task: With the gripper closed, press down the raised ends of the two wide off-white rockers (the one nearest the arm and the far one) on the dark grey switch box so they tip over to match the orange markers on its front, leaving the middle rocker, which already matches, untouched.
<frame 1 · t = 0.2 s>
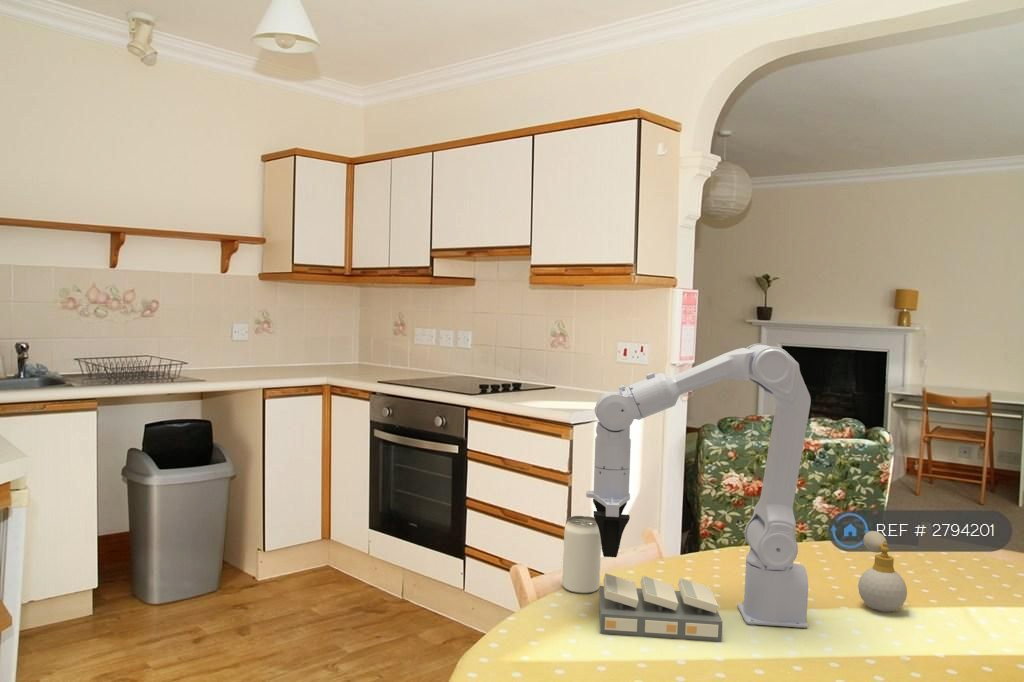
hand: (609, 549, 132), 10 cm above the table, tool pointing down, fingers open, 7 cm apart
rocker near: (697, 594, 127), point 5 cm above the table, hinge at -14.0°
rocker far: (620, 589, 128), point 5 cm above the table, hinge at -14.0°
can: (580, 588, 142), on the table
perfume bottle: (876, 607, 138), on the table
rocker mid: (658, 592, 128), point 5 cm above the table, hinge at -14.0°
switch box: (656, 621, 128), on the table
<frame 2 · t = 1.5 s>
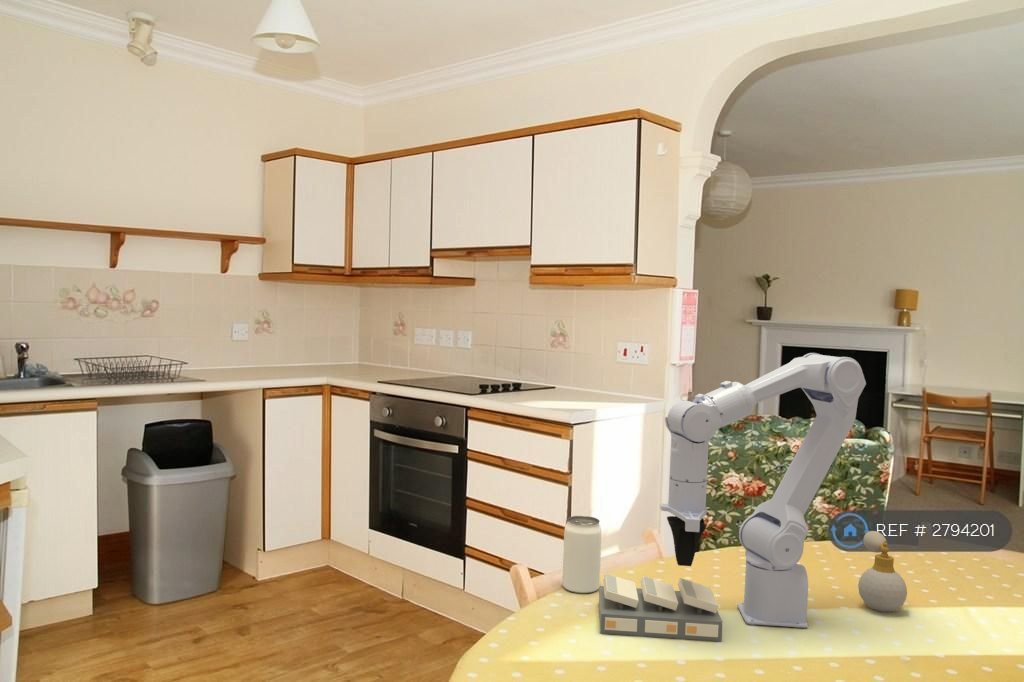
hand: (684, 564, 127), 9 cm above the table, tool pointing down, fingers closed
nothing on the table moved.
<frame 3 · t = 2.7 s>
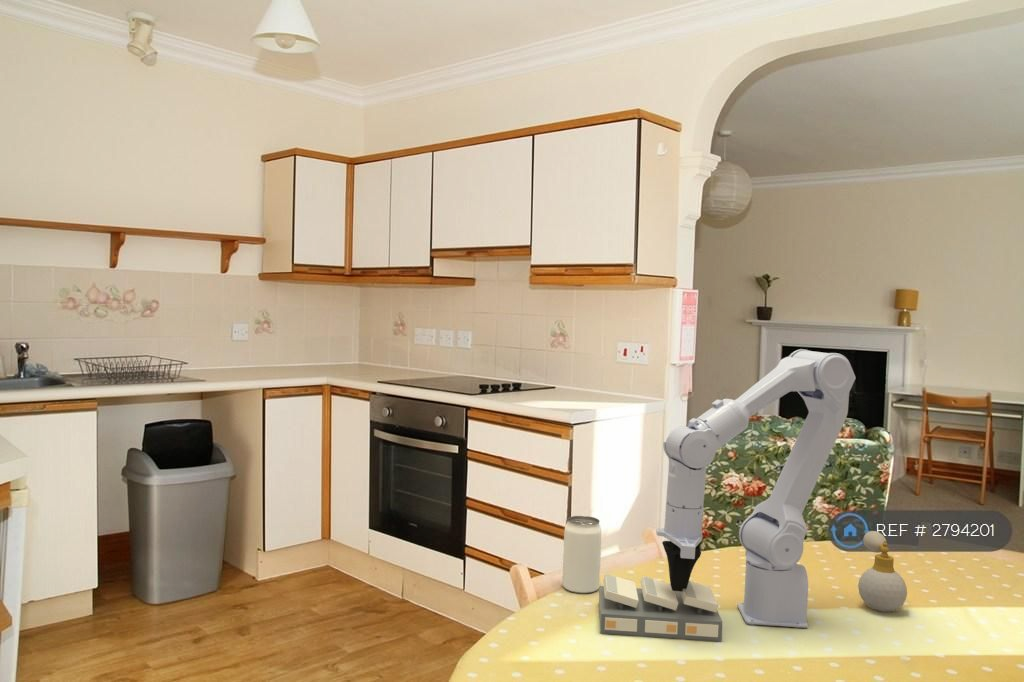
hand: (678, 589, 127), 5 cm above the table, tool pointing down, fingers closed, pressing on rocker near
rocker near: (697, 594, 127), point 5 cm above the table, hinge at -11.4°, touching gripper
everything else where it was.
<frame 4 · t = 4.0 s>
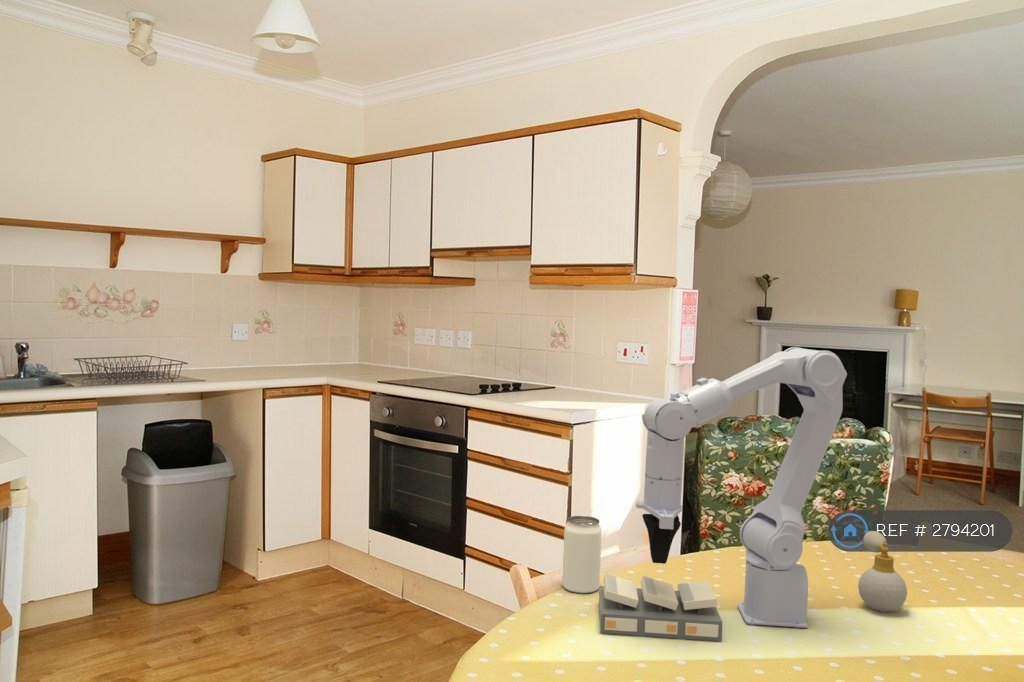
hand: (658, 562, 127), 10 cm above the table, tool pointing down, fingers closed
rocker near: (696, 594, 127), point 5 cm above the table, hinge at 9.7°
everything else where it was.
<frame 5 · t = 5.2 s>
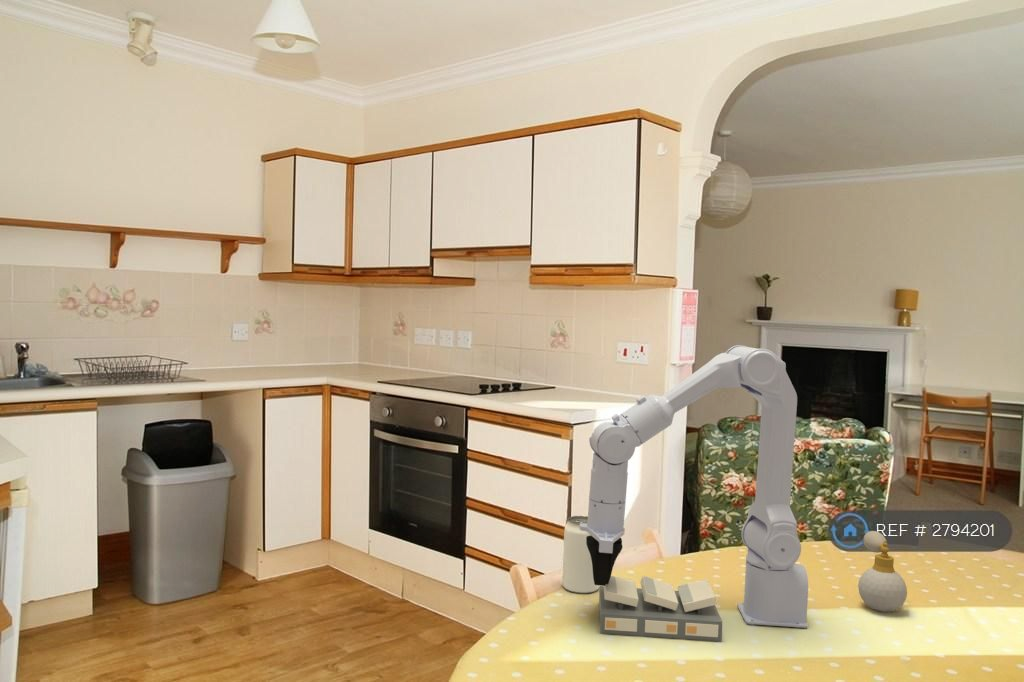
hand: (600, 584, 128), 5 cm above the table, tool pointing down, fingers closed, pressing on rocker far
rocker near: (696, 594, 127), point 5 cm above the table, hinge at 17.9°
rocker far: (620, 589, 128), point 5 cm above the table, hinge at -9.7°, touching gripper
everything else where it was.
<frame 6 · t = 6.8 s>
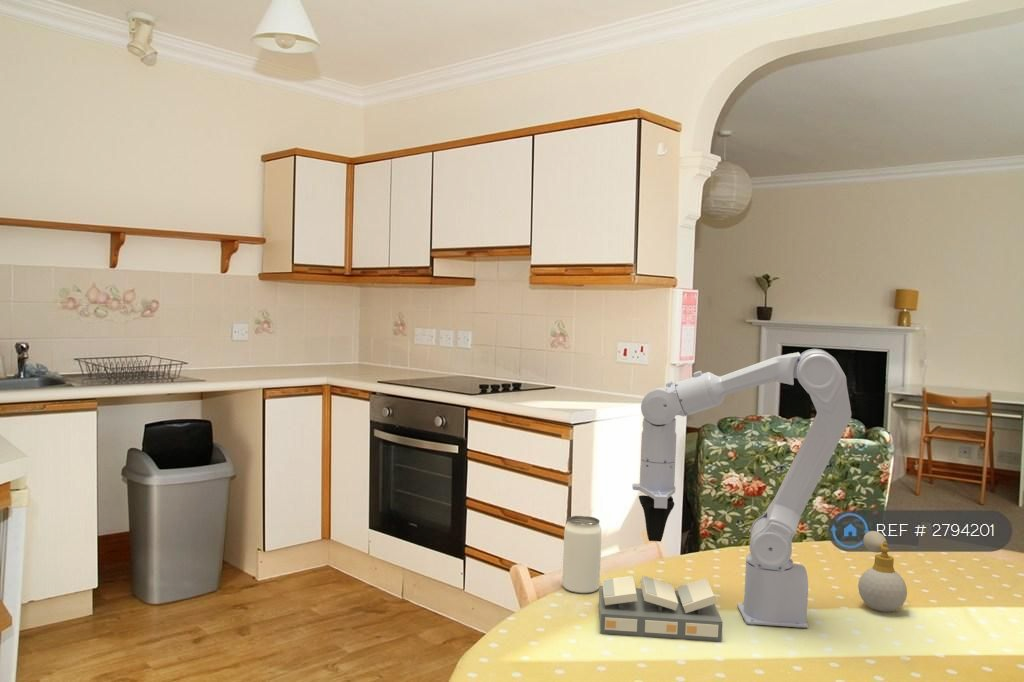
hand: (654, 540, 136), 10 cm above the table, tool pointing down, fingers closed
rocker near: (696, 594, 127), point 5 cm above the table, hinge at 22.7°
rocker far: (619, 589, 128), point 5 cm above the table, hinge at 11.3°
everything else where it was.
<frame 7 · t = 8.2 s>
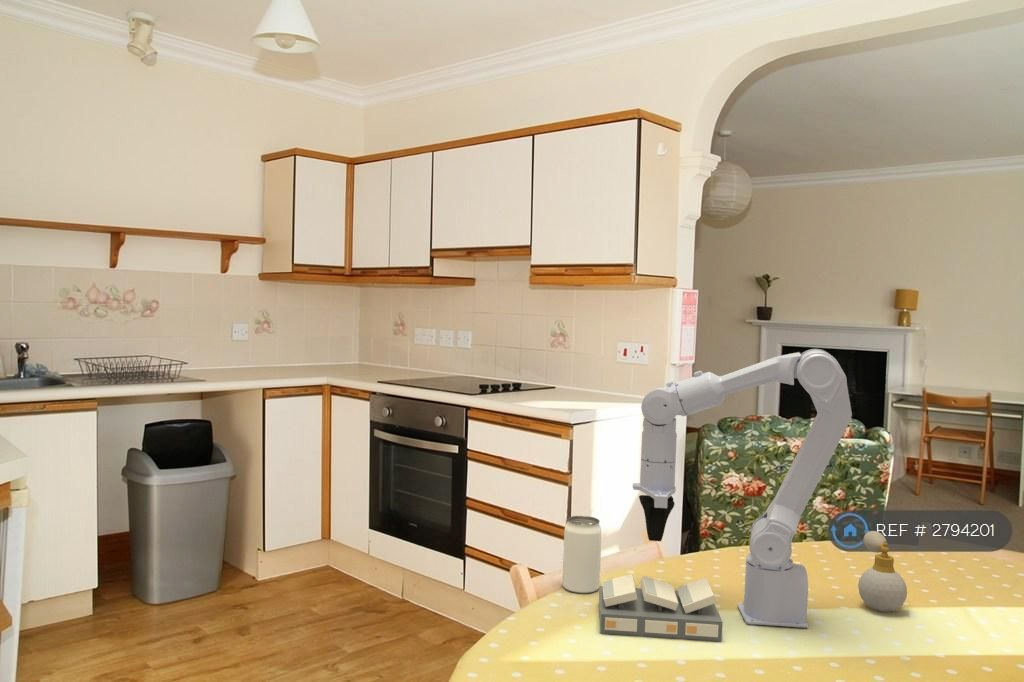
hand: (654, 539, 136), 10 cm above the table, tool pointing down, fingers closed
rocker near: (696, 594, 127), point 5 cm above the table, hinge at 24.3°
rocker far: (619, 589, 128), point 5 cm above the table, hinge at 17.4°
everything else where it was.
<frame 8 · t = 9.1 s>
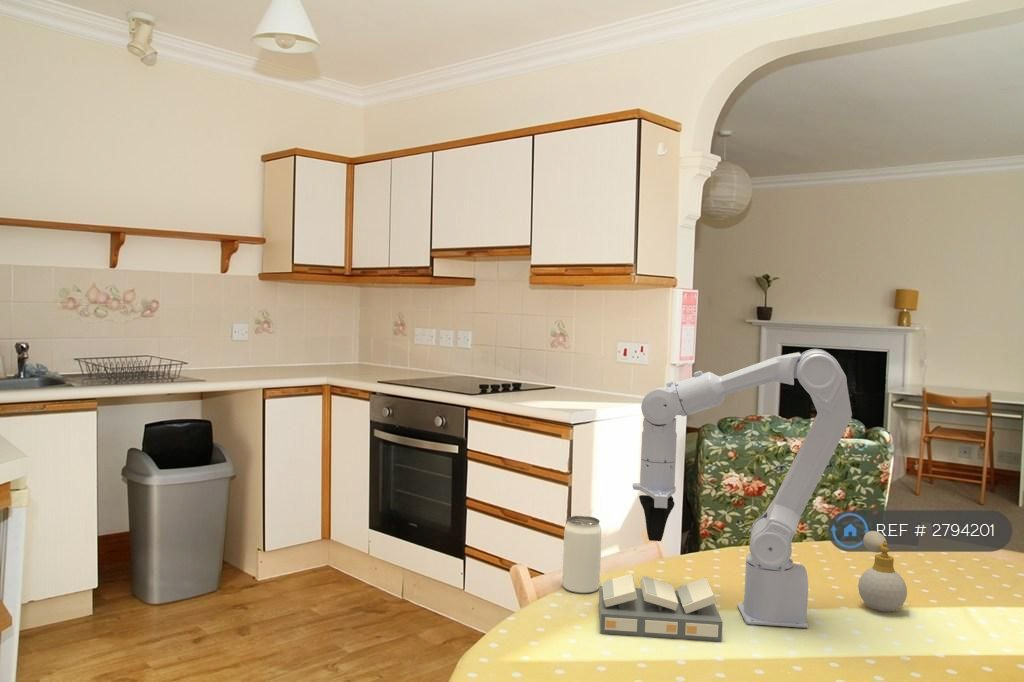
hand: (654, 539, 136), 10 cm above the table, tool pointing down, fingers closed
rocker near: (696, 594, 127), point 5 cm above the table, hinge at 24.8°
rocker far: (619, 589, 128), point 5 cm above the table, hinge at 19.3°
everything else where it was.
at the end: rocker near at +25° (first picture: -14°); rocker far at +20° (first picture: -14°); rocker mid at -14° (first picture: -14°) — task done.
